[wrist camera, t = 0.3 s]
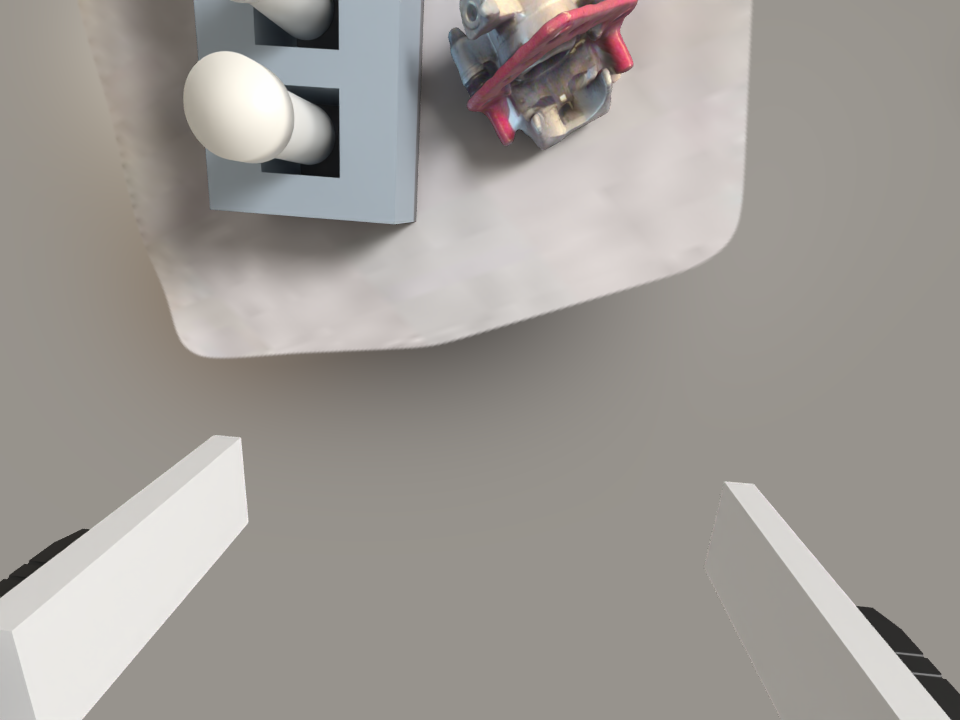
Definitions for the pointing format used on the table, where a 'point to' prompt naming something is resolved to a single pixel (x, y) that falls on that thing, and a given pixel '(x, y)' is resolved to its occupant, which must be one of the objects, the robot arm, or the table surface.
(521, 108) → the brake caliper
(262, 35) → the blue peg holder block
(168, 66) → the table surface
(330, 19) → the cream plunger
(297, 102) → the cream plunger
